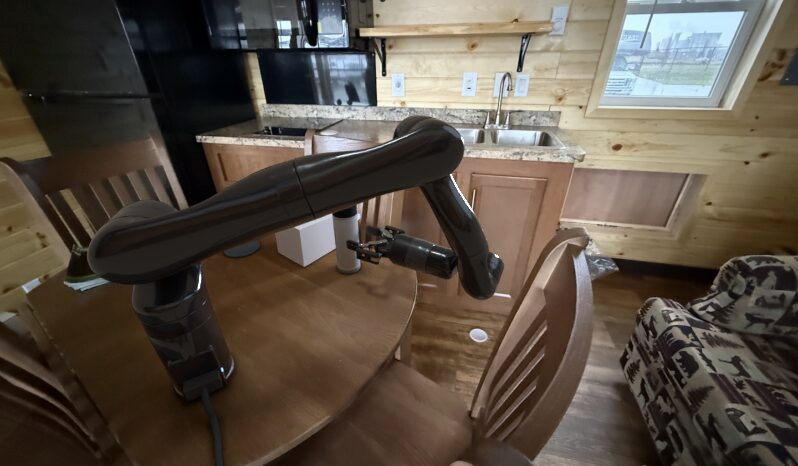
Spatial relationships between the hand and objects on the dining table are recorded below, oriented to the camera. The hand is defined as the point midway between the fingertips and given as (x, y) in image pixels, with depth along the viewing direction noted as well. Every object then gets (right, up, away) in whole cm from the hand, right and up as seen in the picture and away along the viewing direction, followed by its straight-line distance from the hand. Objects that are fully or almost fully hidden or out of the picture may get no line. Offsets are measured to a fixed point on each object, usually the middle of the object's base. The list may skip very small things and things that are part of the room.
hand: (357, 236), depth 80 cm
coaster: (-37, -4, +14) cm, 40 cm away
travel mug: (-3, -9, +7) cm, 12 cm away
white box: (-20, -2, +7) cm, 22 cm away
